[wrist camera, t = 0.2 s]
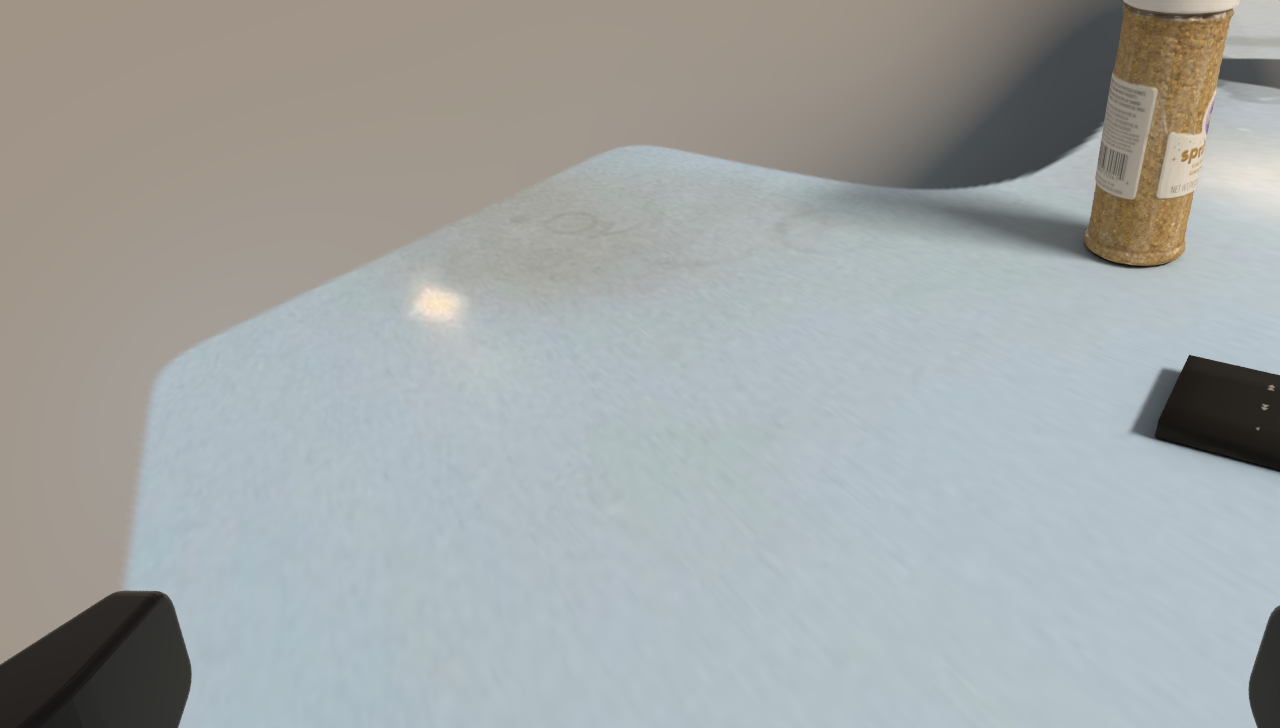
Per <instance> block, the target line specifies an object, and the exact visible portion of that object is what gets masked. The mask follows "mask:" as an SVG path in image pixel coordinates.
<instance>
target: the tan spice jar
mask: <svg viewBox="0 0 1280 728" xmlns="http://www.w3.org/2000/svg"><path fill="white" fill-rule="evenodd" d="M1123 1H1124V2H1125V3H1126V4H1124V7H1123V12H1124V20H1123V23H1122V29H1121V36H1120V42H1119V48H1118V53H1117V58H1116V65H1115V69H1114V71H1113V74H1112V79H1111V85H1110V91H1109V97H1108V103H1107V109H1106V116H1105V121H1104V127H1103V133H1102V140H1101V146H1100V152H1099V158H1098V165H1097V171H1096V178H1095V180H1096V188H1095V193H1094V199H1093V205H1092V212H1091V217H1090V223H1089V227H1088V228H1087V229H1086V232H1085V235H1084V242H1085V244H1086V246H1087V247H1088V248H1089V249H1090V250H1091V251H1092V252H1094V253H1095V254H1097V255H1099V256H1101V257H1102V258H1104V259H1107V260H1110V261H1112V262H1115V263H1123V264H1129V265H1137V266H1152V265H1158V264H1164V263H1167V262H1171V261H1174V260H1176V259H1177V258H1178V257H1179V256H1181V255H1182V253H1183V252H1184V250H1185V232H1186V227H1187V222H1188V217H1189V214H1190V209H1191V203H1192V199H1193V192H1194V190H1195V188H1196V186H1197V182H1198V177H1199V173H1200V168H1201V163H1202V158H1203V152H1204V147H1205V142H1206V137H1207V132H1208V127H1209V123H1210V118H1211V113H1212V109H1213V104H1214V100H1215V95H1216V89H1217V88H1216V84H1217V79H1218V75H1219V71H1220V65H1221V60H1222V55H1223V51H1224V47H1225V40H1226V36H1227V33H1228V29H1229V23H1230V19H1231V17H1232V16H1233V15H1234V11H1233V8H1234V7H1236V6H1237V5H1238V4H1239V2H1240V0H1123Z"/></svg>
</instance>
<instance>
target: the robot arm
mask: <svg viewBox="0 0 1280 728" xmlns="http://www.w3.org/2000/svg"><path fill="white" fill-rule="evenodd" d="M191 676H192V673H191V664H190V659H189V656H188V653H187V649H186V646H185V642H184V639H183V636H182V632H181V629H180V625H179V622H178V619H177V615H176V612H175V608H174V606H173V603H172V601H171V599H170V598H169V597H168V596H167V595H166V594H164V593H162V592H159V591H119V592H115V593H113V594H111V595H109V596H107V597H105V598H104V599H102V600H101V601H99V602H98V603H96V604H94V605H93V606H91V607H90V608H88V609H87V610H85V611H84V612H82V613H80V614H79V615H77V616H76V617H74V618H73V619H71V620H70V621H68V622H66V623H65V624H63V625H62V626H60V627H58V628H57V629H56V630H54V631H52V632H51V633H49V634H48V635H46V636H44V637H43V638H41V639H40V640H38V641H37V642H35V643H34V644H32V645H30V646H29V647H27V648H26V649H24V650H23V651H21V652H20V653H18V654H16V655H15V656H13V657H12V658H10V659H8V660H7V661H5V662H4V663H2V664H1V665H0V728H178V726H179V723H180V720H181V717H182V714H183V711H184V708H185V705H186V702H187V699H188V695H189V691H190V686H191ZM1249 700H1250V706H1251V710H1252V713H1253V716H1254V719H1255V722H1256V725H1257V728H1280V606H1278V607H1276V608H1275V609H1274V611H1273V612H1272V613H1271V615H1270V617H1269V620H1268V623H1267V626H1266V629H1265V632H1264V635H1263V638H1262V641H1261V645H1260V648H1259V651H1258V654H1257V657H1256V660H1255V663H1254V666H1253V670H1252V673H1251V676H1250V681H1249Z"/></svg>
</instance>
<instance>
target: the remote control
mask: <svg viewBox="0 0 1280 728" xmlns="http://www.w3.org/2000/svg"><path fill="white" fill-rule="evenodd" d="M1155 437H1158V438H1162V439H1165V440H1169V441H1173V442H1177V443H1181V444H1184V445H1188V446H1192V447H1196V448H1200V449H1203V450H1207V451H1211V452H1215V453H1219V454H1222V455H1226V456H1230V457H1234V458H1238V459H1241V460H1245V461H1249V462H1253V463H1257V464H1260V465H1264V466H1268V467H1272V468H1275V469H1279V470H1280V375H1276V374H1271V373H1267V372H1262V371H1258V370H1254V369H1249V368H1245V367H1240V366H1236V365H1231V364H1227V363H1223V362H1218V361H1214V360H1209V359H1205V358H1200V357H1196V356H1191V355H1189V357H1188V359H1187V361H1186V363H1185V365H1184V367H1183V369H1182V372H1181V374H1180V376H1179V378H1178V380H1177V382H1176V384H1175V386H1174V389H1173V391H1172V393H1171V395H1170V397H1169V399H1168V401H1167V404H1166V406H1165V408H1164V410H1163V412H1162V414H1161V416H1160V418H1159V421H1158V425H1157V430H1156V434H1155Z"/></svg>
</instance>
